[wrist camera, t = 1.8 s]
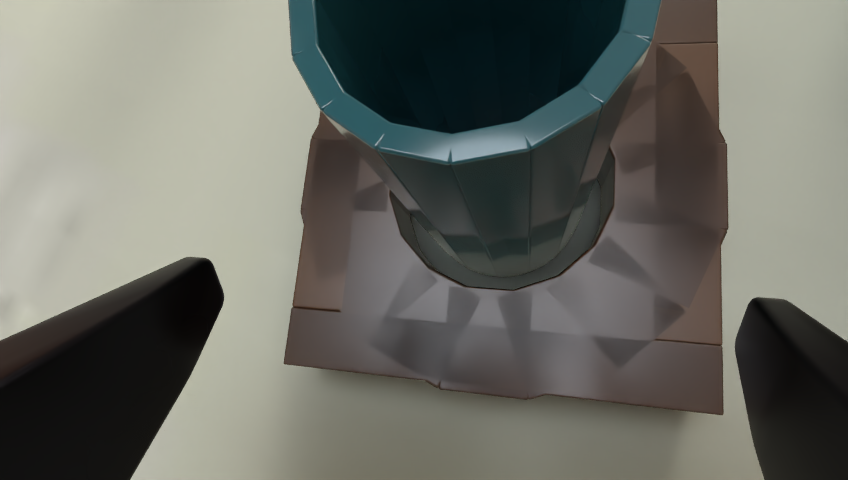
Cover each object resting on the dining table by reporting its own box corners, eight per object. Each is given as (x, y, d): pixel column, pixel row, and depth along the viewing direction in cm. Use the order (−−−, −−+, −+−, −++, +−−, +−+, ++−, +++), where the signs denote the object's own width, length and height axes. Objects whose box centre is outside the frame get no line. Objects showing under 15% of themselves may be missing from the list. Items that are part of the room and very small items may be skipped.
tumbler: (592, 265, 19) (709, 116, 7) (439, 287, 20) (298, 191, 8) (564, 122, 21) (619, -218, 8) (422, 149, 22) (279, -117, 9)
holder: (697, 410, 18) (732, 424, 15) (313, 366, 21) (276, 369, 18) (694, 38, 20) (724, -17, 17) (356, 48, 23) (330, 3, 20)
